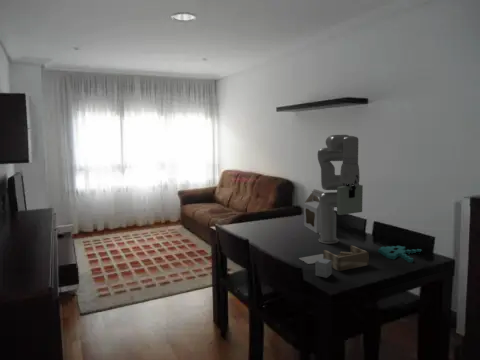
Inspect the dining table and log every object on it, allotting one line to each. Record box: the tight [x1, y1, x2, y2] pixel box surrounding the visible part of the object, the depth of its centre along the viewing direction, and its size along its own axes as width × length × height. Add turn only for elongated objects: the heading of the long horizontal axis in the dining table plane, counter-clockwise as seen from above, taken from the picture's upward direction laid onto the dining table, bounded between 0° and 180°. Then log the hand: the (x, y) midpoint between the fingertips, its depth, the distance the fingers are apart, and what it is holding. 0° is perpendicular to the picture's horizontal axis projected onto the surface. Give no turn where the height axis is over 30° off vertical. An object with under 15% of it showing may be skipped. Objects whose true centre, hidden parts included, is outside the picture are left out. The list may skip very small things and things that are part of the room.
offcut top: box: [339, 251, 352, 256], centre depth 196 cm, size 2×6×2 cm, turn 68°
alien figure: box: [377, 245, 423, 264], centre depth 209 cm, size 20×2×20 cm
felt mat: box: [298, 253, 323, 265], centre depth 204 cm, size 10×16×1 cm, turn 112°
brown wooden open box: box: [322, 245, 370, 272], centre depth 196 cm, size 13×19×7 cm
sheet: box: [336, 184, 364, 216], centre depth 189 cm, size 2×14×14 cm, turn 112°
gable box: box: [303, 188, 335, 234], centre depth 266 cm, size 22×13×28 cm, turn 14°
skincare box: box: [314, 258, 333, 279], centre depth 182 cm, size 6×6×7 cm
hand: (349, 196), depth 189 cm, fingers closed on sheet, 2 cm apart
